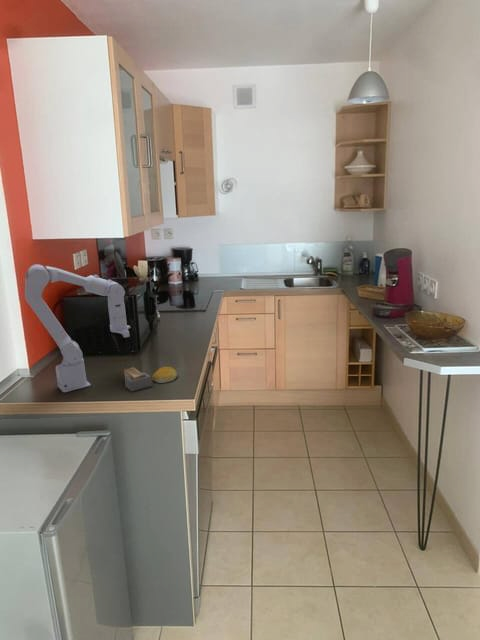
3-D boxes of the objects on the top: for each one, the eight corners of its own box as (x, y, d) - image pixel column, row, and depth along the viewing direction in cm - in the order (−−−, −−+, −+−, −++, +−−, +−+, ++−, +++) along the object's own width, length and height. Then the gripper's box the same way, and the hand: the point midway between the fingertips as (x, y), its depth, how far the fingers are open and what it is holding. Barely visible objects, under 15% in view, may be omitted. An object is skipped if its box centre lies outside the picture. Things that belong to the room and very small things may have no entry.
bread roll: (149, 383, 165) (148, 372, 164) (159, 374, 174) (158, 364, 173) (171, 384, 163) (170, 373, 162) (180, 375, 172) (179, 364, 171)
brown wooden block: (136, 389, 160) (134, 377, 159) (125, 381, 169) (124, 369, 167) (145, 386, 162) (144, 374, 161) (134, 378, 170) (133, 367, 169)
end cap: (131, 391, 158) (130, 381, 157) (125, 386, 163) (124, 377, 162) (152, 385, 162) (151, 376, 161) (145, 381, 167) (144, 372, 166)
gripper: (136, 317, 164) (140, 354, 167) (121, 310, 175) (125, 345, 179) (116, 321, 160) (121, 358, 163) (102, 313, 172) (107, 349, 175)
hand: (121, 352), depth 171 cm, fingers closed
